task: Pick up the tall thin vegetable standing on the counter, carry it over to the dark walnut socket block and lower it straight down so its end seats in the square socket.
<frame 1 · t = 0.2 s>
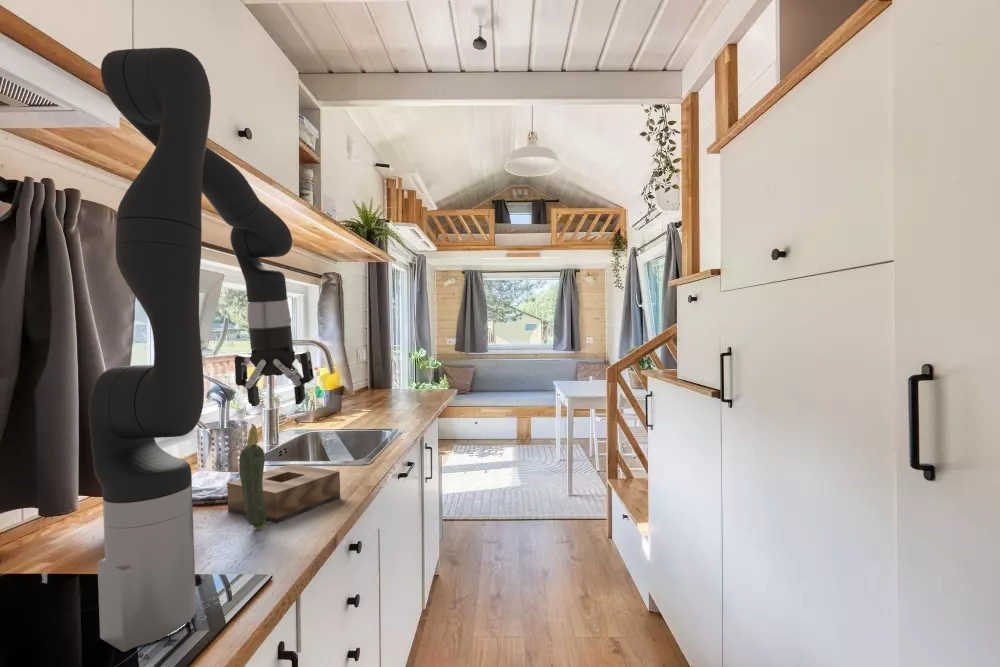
hand: (277, 404, 98), 23 cm above the worktop, tool pointing down, fingers open, 8 cm apart
vegetable: (254, 531, 93), on the worktop
smoothie: (139, 528, 96), on the worktop
socket block: (285, 504, 106), on the worktop
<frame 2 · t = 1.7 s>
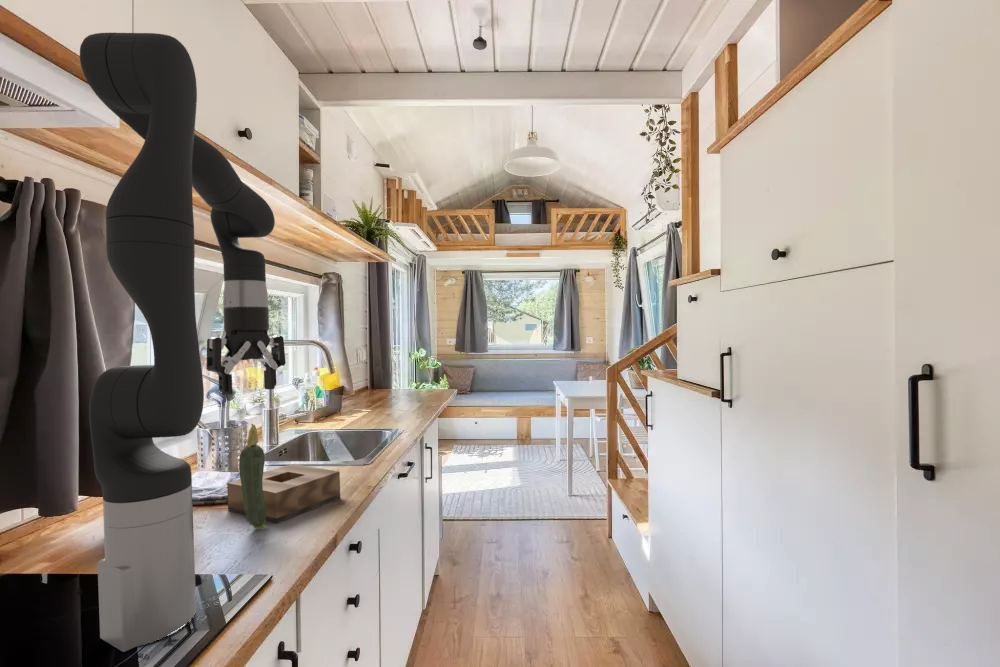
hand: (249, 391, 92), 26 cm above the worktop, tool pointing down, fingers open, 8 cm apart
nothing on the worktop moved.
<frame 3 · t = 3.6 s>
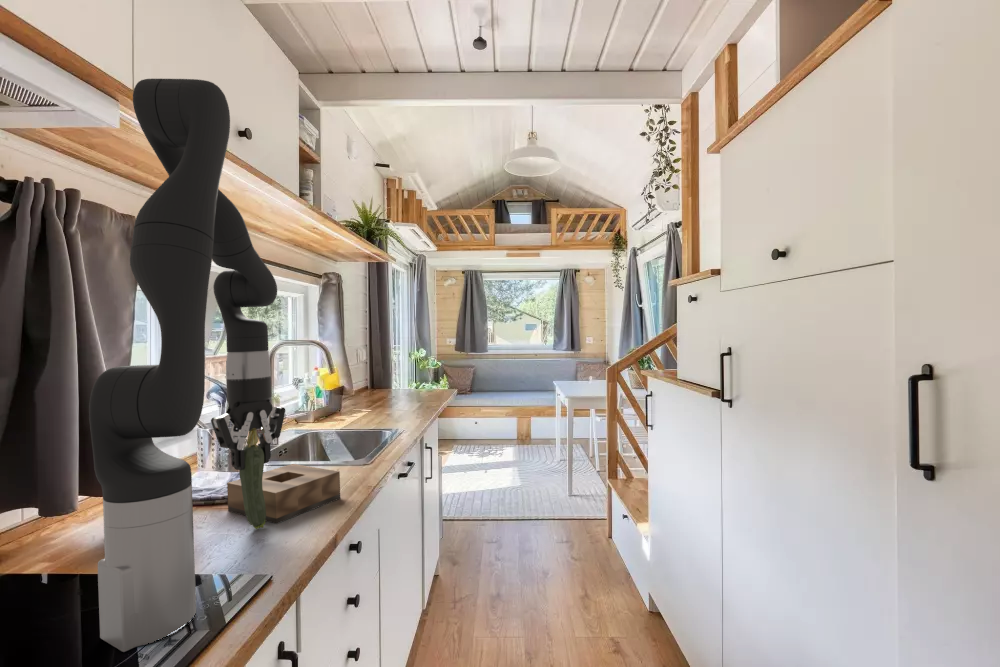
hand: (252, 465, 93), 12 cm above the worktop, tool pointing down, fingers closed on vegetable, 4 cm apart
vegetable: (254, 531, 93), on the worktop, touching gripper
everything else where it was.
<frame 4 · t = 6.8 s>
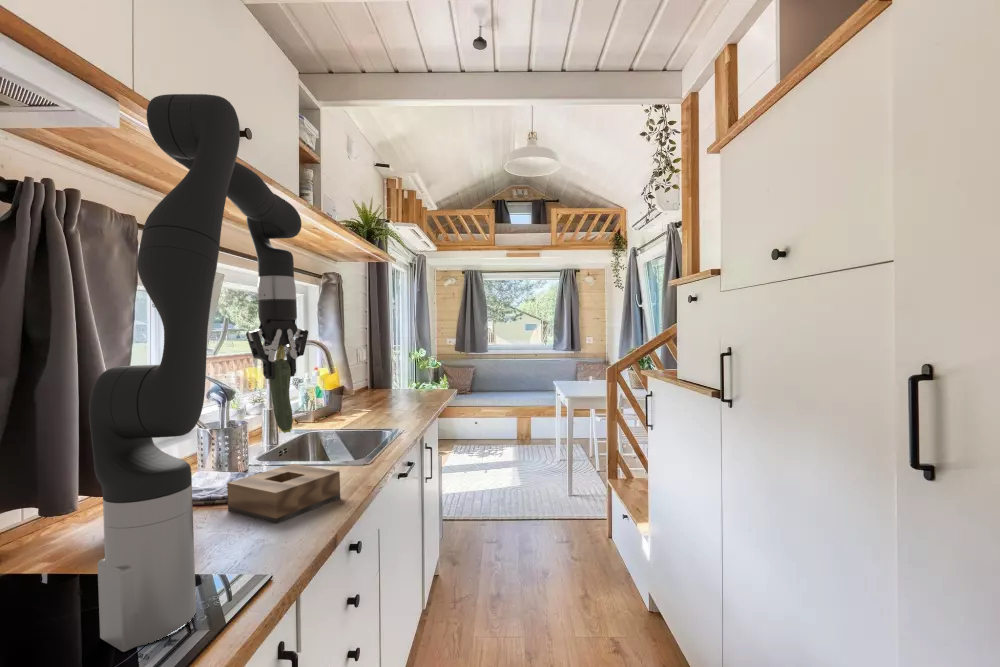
hand: (280, 377, 106), 28 cm above the worktop, tool pointing down, fingers closed on vegetable, 4 cm apart
vegetable: (282, 434, 106), point 15 cm above the worktop, touching gripper
everything else where it was.
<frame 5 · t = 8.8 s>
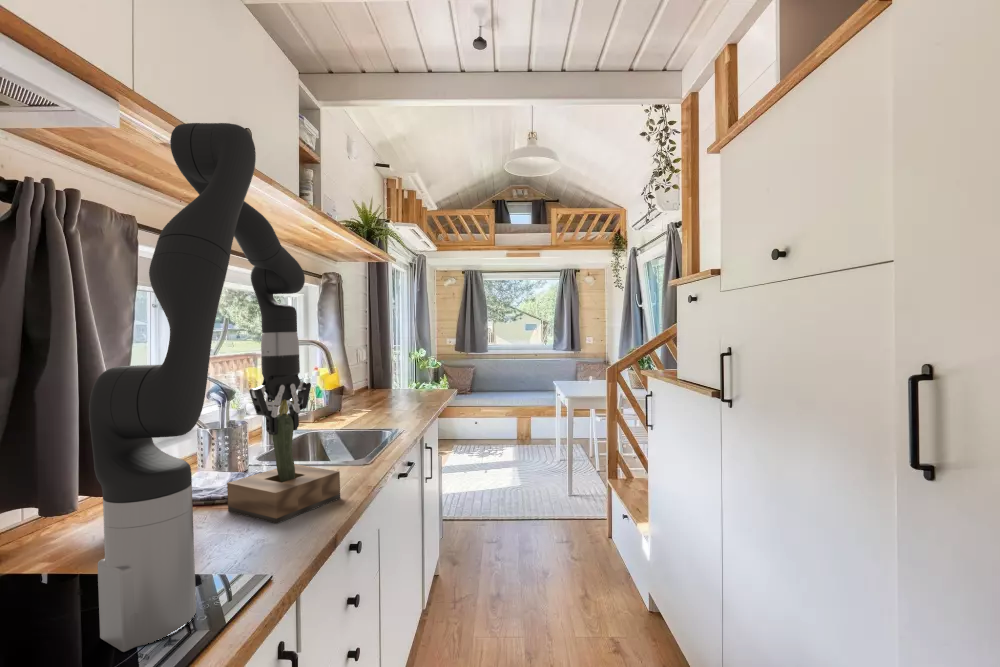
hand: (283, 431, 106), 16 cm above the worktop, tool pointing down, fingers closed on vegetable, 4 cm apart
vegetable: (285, 489, 106), point 3 cm above the worktop, touching gripper
everything else where it was.
when the fingers open (15 cm above the worktop, at t = 9.9 s): vegetable drops 1 cm, resting on socket block.
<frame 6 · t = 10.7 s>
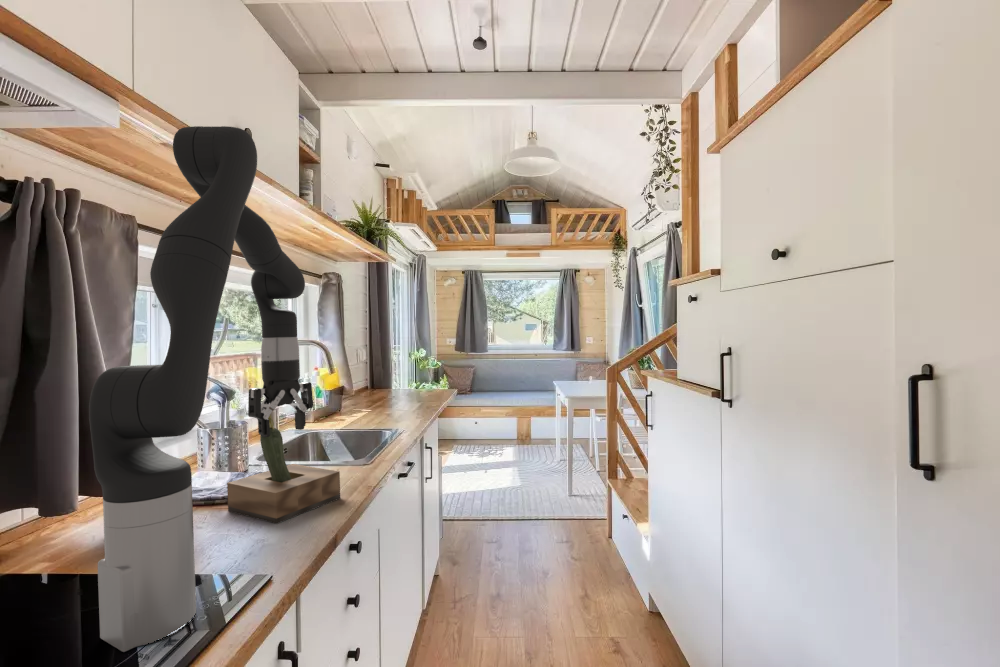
hand: (283, 432, 106), 16 cm above the worktop, tool pointing down, fingers open, 8 cm apart
vegetable: (285, 500, 106), point 1 cm above the worktop, touching gripper, socket block
everything else where it was.
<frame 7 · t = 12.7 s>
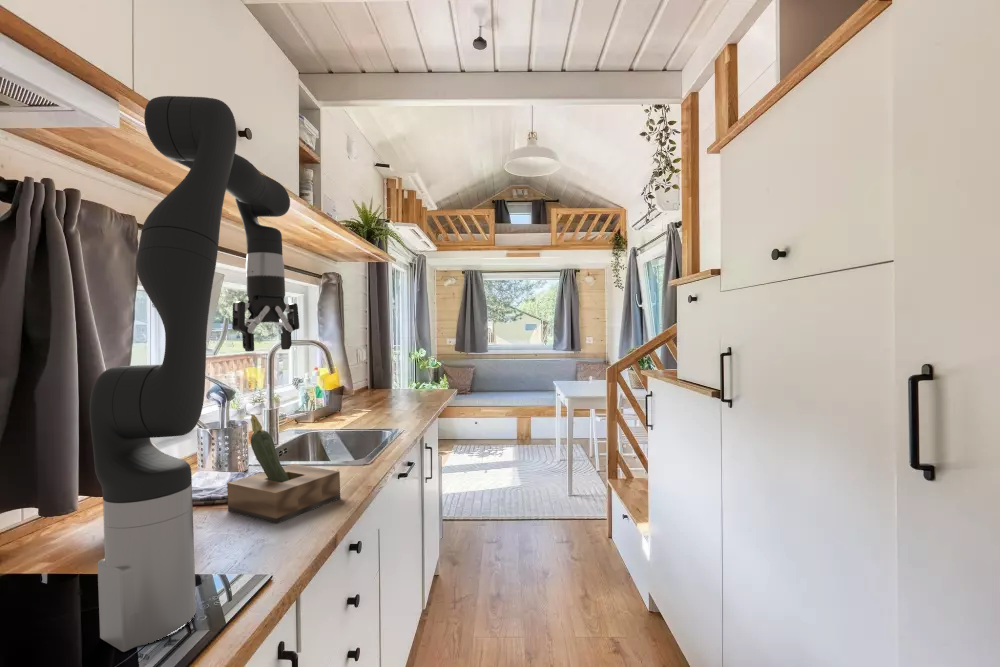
hand: (268, 350, 107), 34 cm above the worktop, tool pointing down, fingers open, 8 cm apart
vegetable: (286, 499, 107), point 1 cm above the worktop, touching socket block
everything else where it was.
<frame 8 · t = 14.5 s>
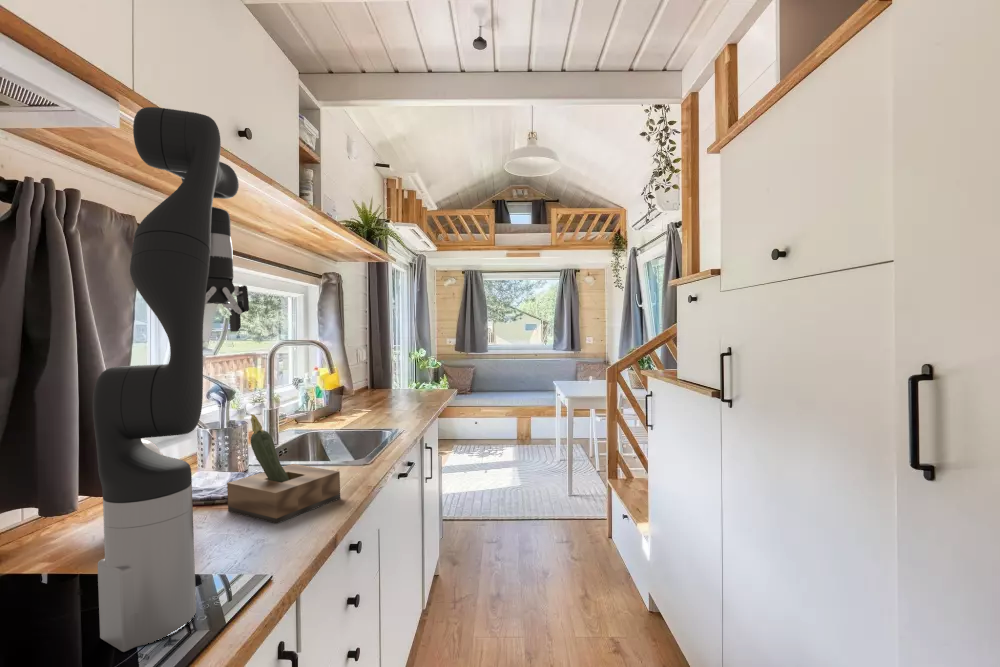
hand: (215, 331, 106), 38 cm above the worktop, tool pointing down, fingers open, 8 cm apart
nothing on the worktop moved.
at the end: vegetable 0.2 cm off-centre on the socket block, point 0.9 cm above the socket block's base; vegetable tilted 19°; the gripper is holding nothing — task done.
